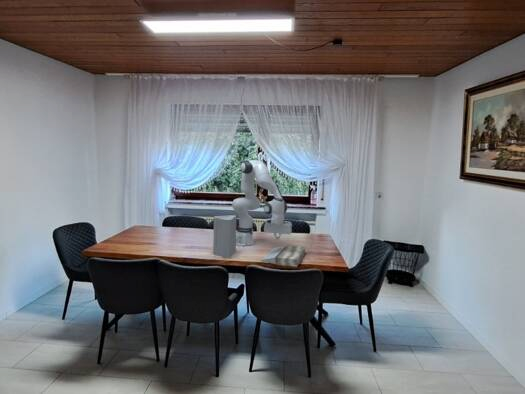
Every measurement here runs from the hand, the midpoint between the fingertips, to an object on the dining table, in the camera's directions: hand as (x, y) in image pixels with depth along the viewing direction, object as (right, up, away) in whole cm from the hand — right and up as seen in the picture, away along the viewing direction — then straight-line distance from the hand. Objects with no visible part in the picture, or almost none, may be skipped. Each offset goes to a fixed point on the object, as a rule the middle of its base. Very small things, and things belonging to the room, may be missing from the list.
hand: (277, 239), depth 267 cm
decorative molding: (-2, -14, +3) cm, 14 cm away
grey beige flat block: (+10, -14, -1) cm, 17 cm away
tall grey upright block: (-40, -12, +6) cm, 43 cm away
